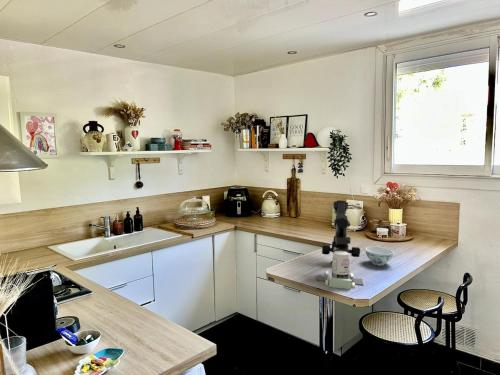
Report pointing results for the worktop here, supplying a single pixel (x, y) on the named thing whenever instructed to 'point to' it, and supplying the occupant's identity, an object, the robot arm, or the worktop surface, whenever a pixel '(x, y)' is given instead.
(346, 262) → the supplement can
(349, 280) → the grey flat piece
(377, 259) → the chinaware
